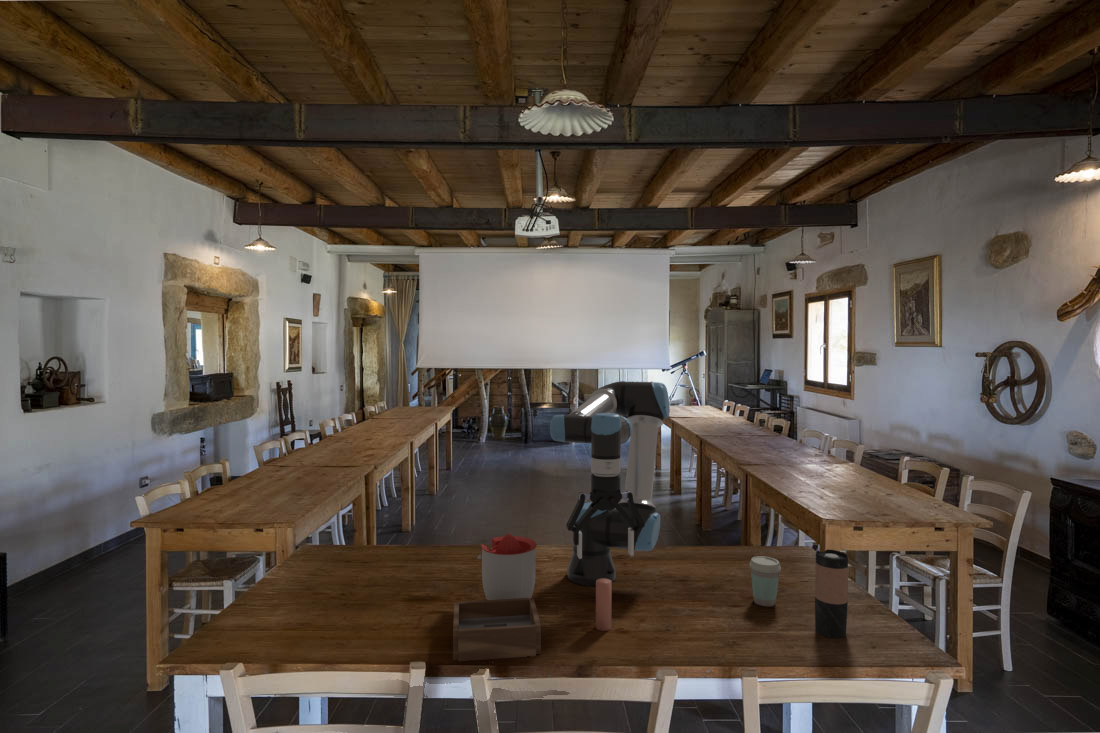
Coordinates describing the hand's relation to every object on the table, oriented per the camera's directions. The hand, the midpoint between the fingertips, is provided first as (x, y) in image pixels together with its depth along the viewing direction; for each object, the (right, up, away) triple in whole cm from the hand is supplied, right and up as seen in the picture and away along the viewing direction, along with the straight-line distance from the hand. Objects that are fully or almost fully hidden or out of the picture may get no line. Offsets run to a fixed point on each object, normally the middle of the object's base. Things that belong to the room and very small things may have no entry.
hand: (605, 555), depth 155 cm
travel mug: (+57, -19, -1) cm, 60 cm away
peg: (0, -19, +1) cm, 19 cm away
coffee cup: (+47, -19, +16) cm, 53 cm away
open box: (-28, -19, -7) cm, 34 cm away
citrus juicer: (-27, -18, +15) cm, 36 cm away
